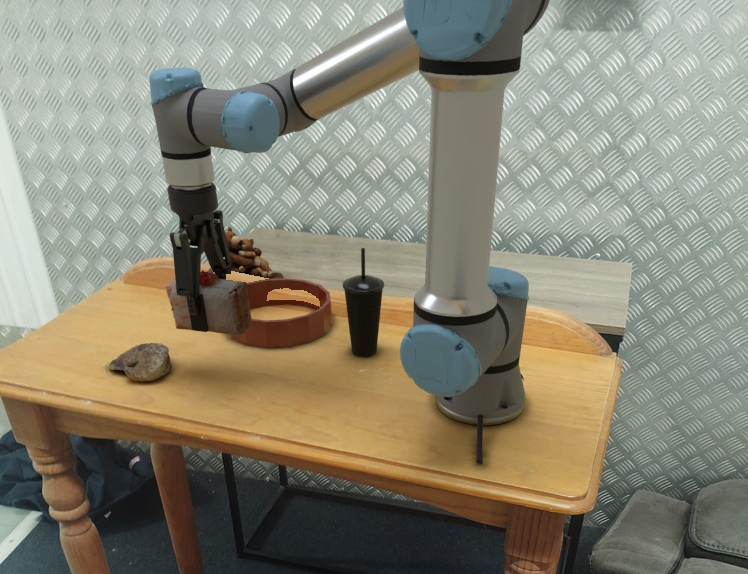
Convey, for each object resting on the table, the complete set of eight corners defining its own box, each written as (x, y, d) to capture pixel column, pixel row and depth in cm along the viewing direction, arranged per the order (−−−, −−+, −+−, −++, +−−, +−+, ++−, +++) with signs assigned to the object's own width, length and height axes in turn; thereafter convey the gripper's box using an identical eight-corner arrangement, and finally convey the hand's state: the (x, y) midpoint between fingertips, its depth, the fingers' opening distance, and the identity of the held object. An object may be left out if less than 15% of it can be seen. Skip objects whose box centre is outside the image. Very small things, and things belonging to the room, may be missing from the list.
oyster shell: (147, 351, 140) (141, 327, 137) (185, 371, 133) (180, 346, 130) (103, 368, 134) (97, 344, 131) (141, 390, 128) (135, 365, 125)
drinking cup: (379, 362, 135) (379, 257, 123) (340, 358, 137) (336, 254, 124) (387, 344, 141) (388, 242, 129) (349, 341, 143) (346, 240, 130)
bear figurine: (254, 297, 160) (248, 242, 153) (205, 284, 166) (196, 230, 159) (291, 278, 169) (287, 225, 162) (243, 265, 175) (237, 214, 168)
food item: (167, 331, 125) (156, 276, 119) (187, 313, 131) (178, 260, 125) (239, 340, 122) (232, 284, 116) (257, 321, 128) (251, 267, 122)
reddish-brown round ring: (309, 353, 138) (307, 327, 135) (206, 339, 143) (202, 314, 140) (345, 309, 155) (344, 284, 151) (252, 297, 160) (249, 273, 156)
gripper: (200, 165, 120) (219, 295, 134) (133, 200, 105) (162, 342, 119) (241, 168, 119) (255, 299, 133) (179, 204, 103) (203, 348, 117)
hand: (211, 320), depth 126 cm, fingers closed on food item, 8 cm apart
